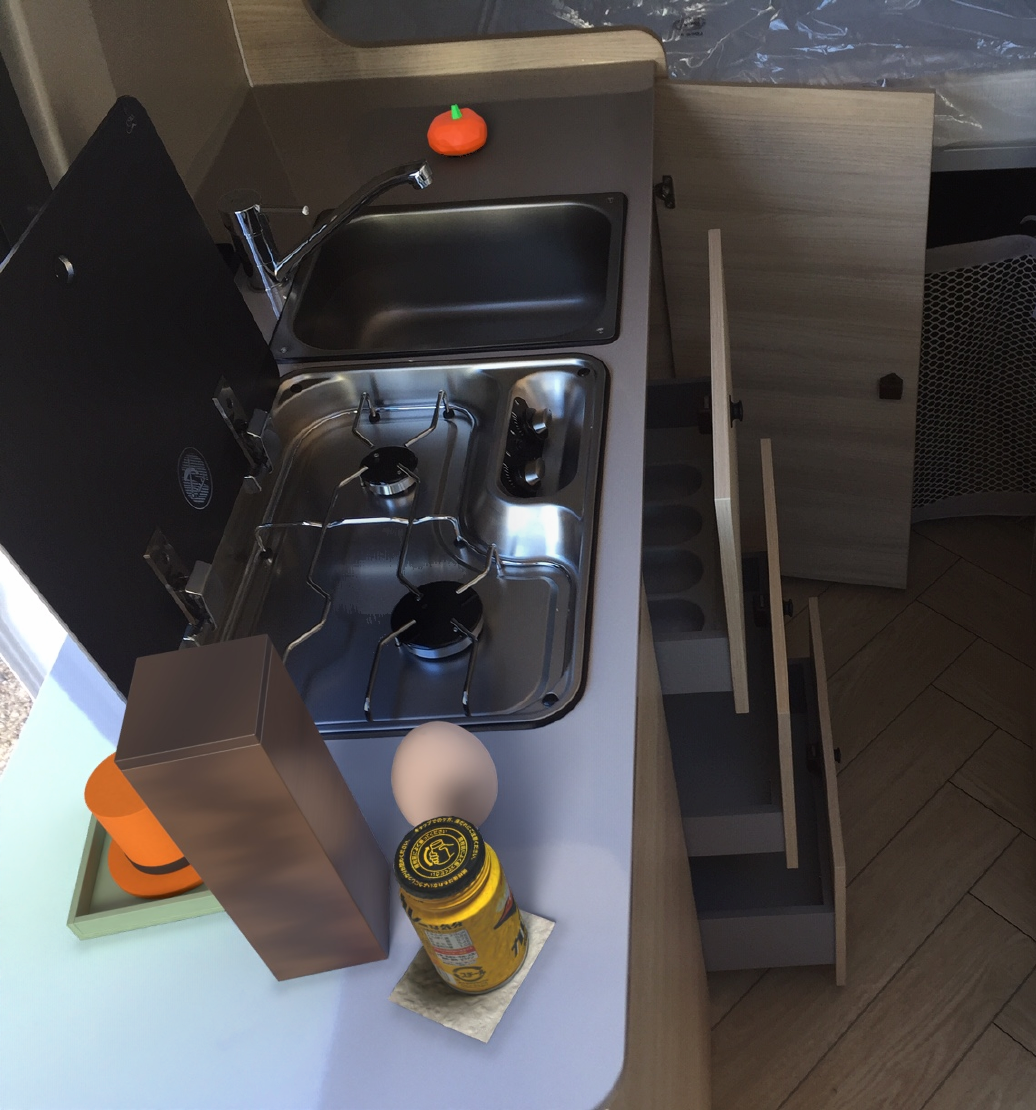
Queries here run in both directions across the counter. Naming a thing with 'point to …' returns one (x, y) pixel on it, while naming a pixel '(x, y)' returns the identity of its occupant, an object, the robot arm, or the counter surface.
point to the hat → (136, 838)
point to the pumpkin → (457, 132)
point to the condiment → (462, 928)
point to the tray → (123, 896)
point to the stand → (257, 804)
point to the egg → (443, 775)
